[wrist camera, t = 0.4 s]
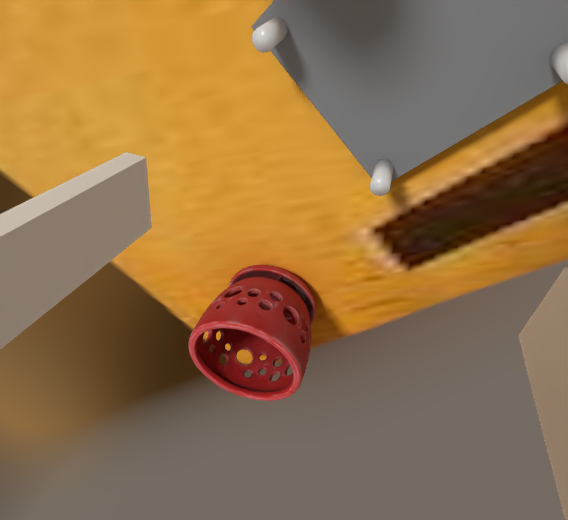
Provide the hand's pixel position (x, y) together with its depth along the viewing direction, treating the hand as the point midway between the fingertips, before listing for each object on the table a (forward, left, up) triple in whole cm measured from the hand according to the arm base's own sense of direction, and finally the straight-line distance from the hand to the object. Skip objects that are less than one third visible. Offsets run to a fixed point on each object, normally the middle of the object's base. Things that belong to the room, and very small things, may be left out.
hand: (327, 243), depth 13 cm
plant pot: (+27, +14, -24) cm, 39 cm away
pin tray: (-2, 0, -24) cm, 24 cm away
